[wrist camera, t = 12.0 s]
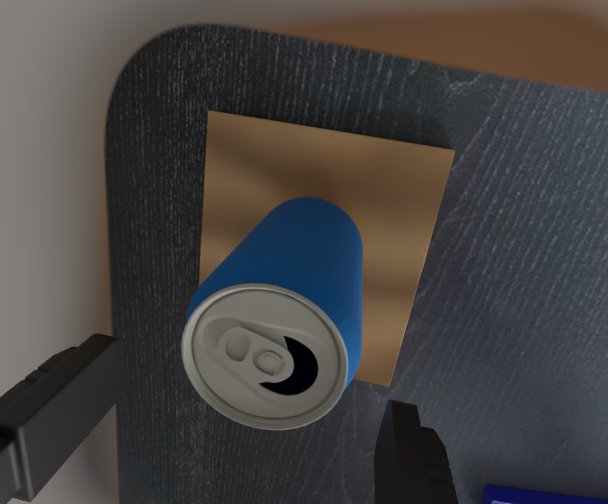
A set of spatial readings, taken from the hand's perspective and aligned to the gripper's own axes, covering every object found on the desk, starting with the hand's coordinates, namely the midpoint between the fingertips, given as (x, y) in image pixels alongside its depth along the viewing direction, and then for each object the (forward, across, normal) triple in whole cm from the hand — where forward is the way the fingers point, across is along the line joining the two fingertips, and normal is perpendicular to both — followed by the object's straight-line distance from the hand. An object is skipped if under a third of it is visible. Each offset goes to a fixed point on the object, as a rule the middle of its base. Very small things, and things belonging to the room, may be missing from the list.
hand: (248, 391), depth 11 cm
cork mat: (+14, 0, +1) cm, 14 cm away
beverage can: (+14, 0, 0) cm, 14 cm away
